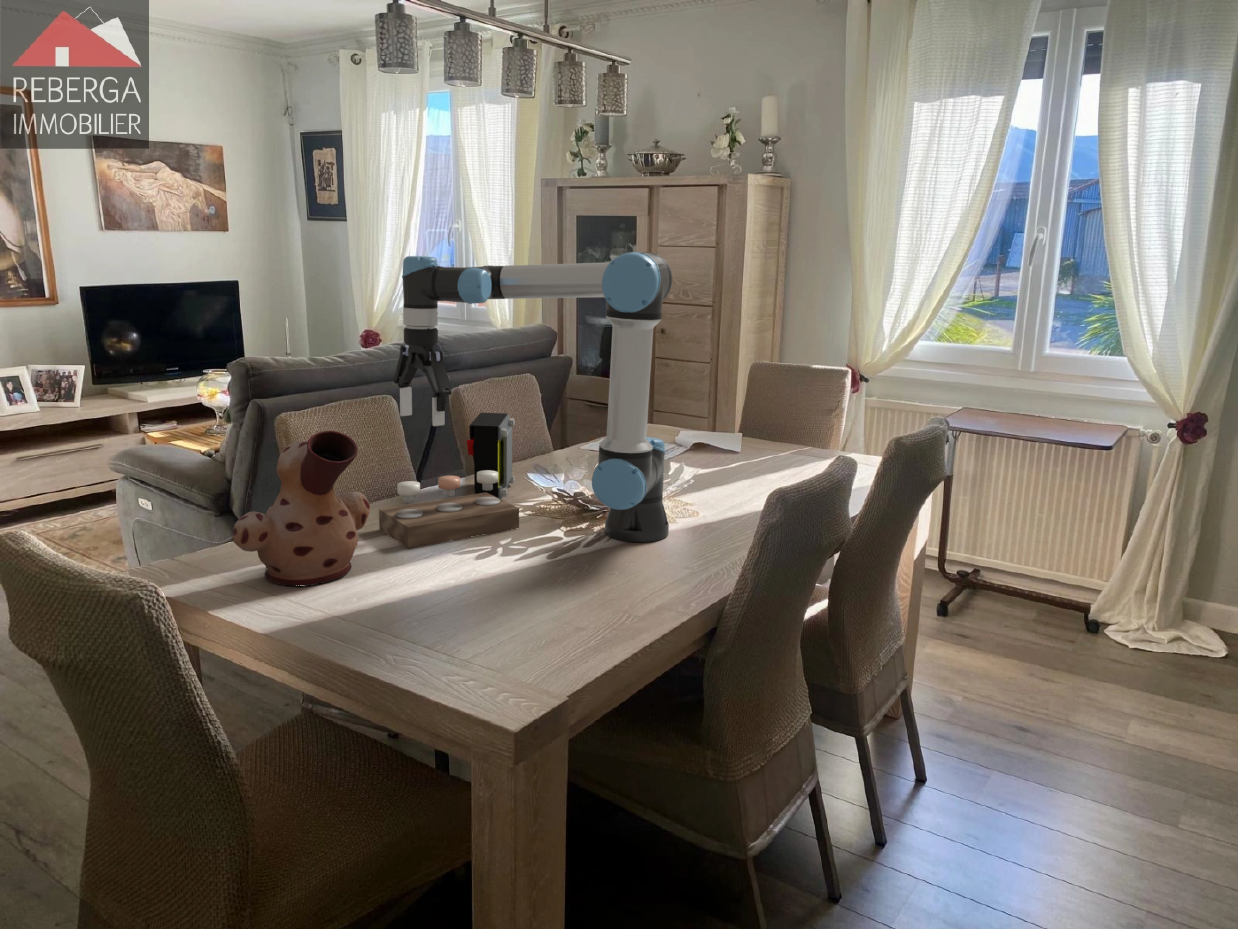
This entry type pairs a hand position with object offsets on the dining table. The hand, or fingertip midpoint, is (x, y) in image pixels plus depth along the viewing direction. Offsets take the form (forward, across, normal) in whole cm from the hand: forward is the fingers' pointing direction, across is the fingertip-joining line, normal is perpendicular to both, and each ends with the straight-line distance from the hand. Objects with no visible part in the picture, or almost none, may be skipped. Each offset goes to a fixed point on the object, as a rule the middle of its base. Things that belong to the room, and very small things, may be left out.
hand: (422, 420), depth 211 cm
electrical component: (+26, +14, -30) cm, 42 cm away
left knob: (+17, -4, +6) cm, 19 cm away
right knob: (+17, -6, -14) cm, 23 cm away
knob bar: (+26, -5, -4) cm, 26 cm away
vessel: (+26, -14, +34) cm, 44 cm away
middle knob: (+17, -5, -4) cm, 18 cm away
